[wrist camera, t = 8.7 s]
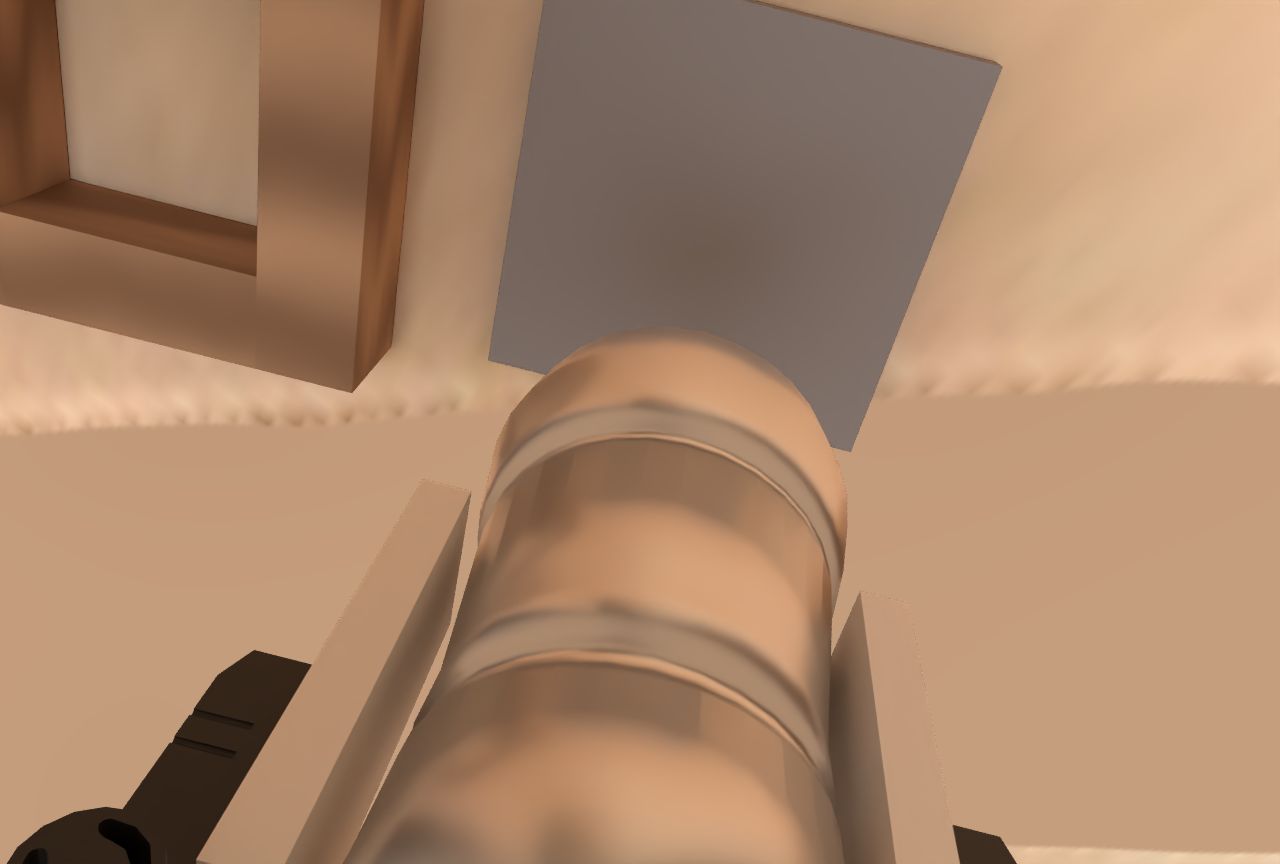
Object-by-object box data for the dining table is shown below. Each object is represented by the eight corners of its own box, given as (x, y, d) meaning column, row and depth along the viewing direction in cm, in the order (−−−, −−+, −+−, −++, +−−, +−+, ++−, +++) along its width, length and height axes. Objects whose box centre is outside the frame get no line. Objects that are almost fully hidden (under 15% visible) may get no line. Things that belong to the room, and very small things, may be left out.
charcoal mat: (557, -51, 29) (551, -49, 29) (995, 61, 29) (1002, 66, 29) (494, 349, 36) (488, 360, 36) (848, 438, 36) (850, 452, 36)
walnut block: (-78, -251, 29) (-194, -272, 25) (435, -120, 29) (390, -122, 25) (-11, 244, 37) (-92, 281, 33) (391, 346, 37) (352, 393, 33)
